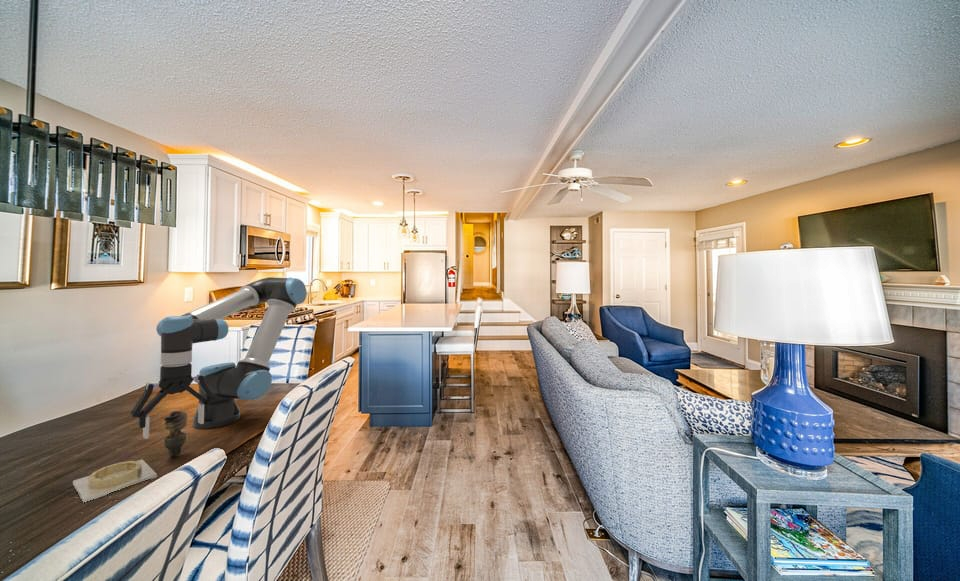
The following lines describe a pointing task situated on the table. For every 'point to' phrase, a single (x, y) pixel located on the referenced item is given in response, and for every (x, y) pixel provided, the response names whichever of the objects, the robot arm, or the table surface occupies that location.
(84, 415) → the table surface
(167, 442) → the dark brown lumpy column
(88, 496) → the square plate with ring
